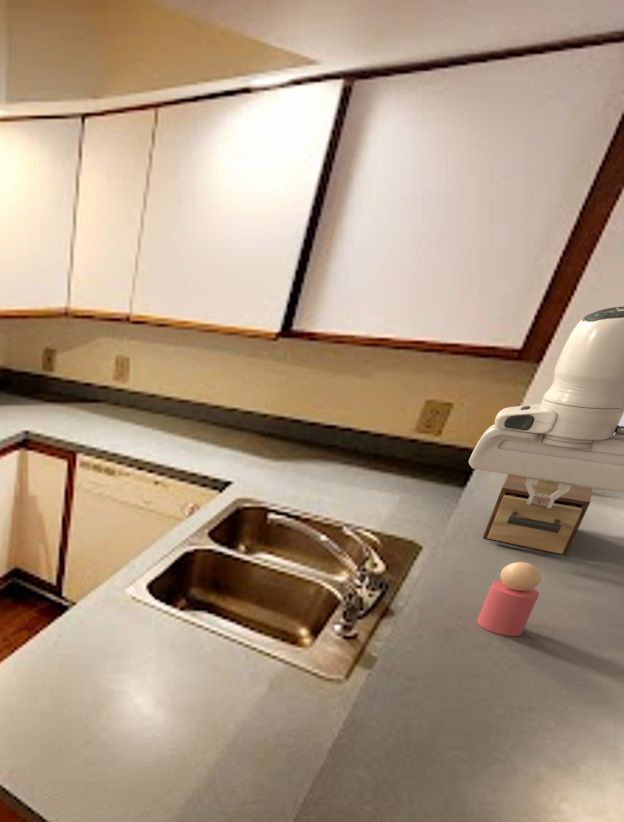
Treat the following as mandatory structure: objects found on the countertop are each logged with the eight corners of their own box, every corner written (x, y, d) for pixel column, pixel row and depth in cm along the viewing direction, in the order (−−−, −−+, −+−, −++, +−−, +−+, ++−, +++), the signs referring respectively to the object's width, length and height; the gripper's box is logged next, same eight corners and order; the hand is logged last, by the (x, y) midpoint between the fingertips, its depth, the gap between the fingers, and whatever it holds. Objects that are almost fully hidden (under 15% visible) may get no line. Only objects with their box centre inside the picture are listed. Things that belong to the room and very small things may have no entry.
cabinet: (566, 555, 101) (590, 502, 97) (482, 538, 108) (502, 487, 104) (571, 527, 110) (593, 477, 106) (493, 513, 117) (512, 466, 113)
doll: (517, 622, 85) (544, 559, 81) (526, 639, 82) (555, 575, 77) (473, 614, 87) (498, 553, 83) (480, 631, 84) (506, 567, 80)
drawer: (560, 563, 97) (580, 518, 94) (483, 546, 103) (499, 504, 100) (567, 528, 108) (585, 486, 105) (497, 515, 114) (512, 475, 111)
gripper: (679, 427, 88) (634, 516, 94) (490, 407, 102) (461, 486, 108) (681, 437, 84) (634, 529, 90) (484, 415, 98) (454, 496, 104)
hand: (538, 505), depth 99 cm, fingers closed
